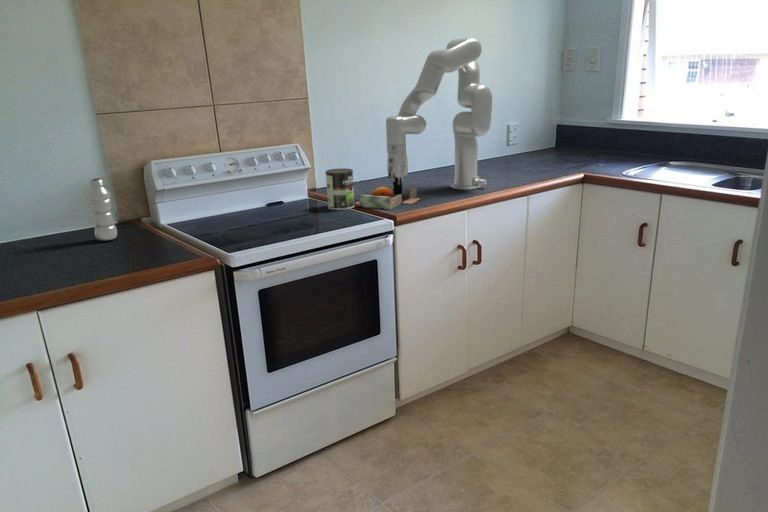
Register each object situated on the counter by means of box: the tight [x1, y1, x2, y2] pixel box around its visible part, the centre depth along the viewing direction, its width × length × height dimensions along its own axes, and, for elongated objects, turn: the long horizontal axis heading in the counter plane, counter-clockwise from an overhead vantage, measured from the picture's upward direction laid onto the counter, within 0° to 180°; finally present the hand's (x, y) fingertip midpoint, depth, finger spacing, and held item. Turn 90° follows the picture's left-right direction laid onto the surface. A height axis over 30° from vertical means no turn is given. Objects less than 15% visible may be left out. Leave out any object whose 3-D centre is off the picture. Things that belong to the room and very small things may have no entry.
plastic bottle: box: [87, 177, 118, 242], centre depth 189 cm, size 6×7×20 cm
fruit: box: [371, 186, 393, 198], centre depth 225 cm, size 8×8×8 cm
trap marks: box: [354, 197, 422, 205], centre depth 231 cm, size 21×16×1 cm
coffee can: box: [325, 168, 355, 211], centre depth 223 cm, size 10×10×14 cm
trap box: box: [358, 185, 418, 210], centre depth 231 cm, size 13×24×4 cm, turn 152°
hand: (398, 193), depth 237 cm, fingers closed
